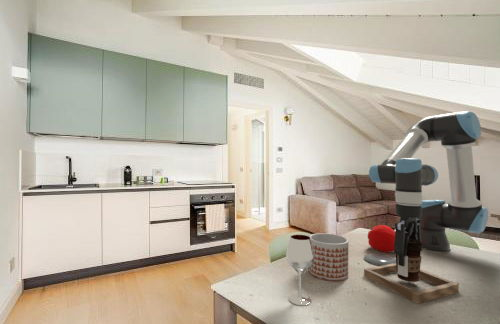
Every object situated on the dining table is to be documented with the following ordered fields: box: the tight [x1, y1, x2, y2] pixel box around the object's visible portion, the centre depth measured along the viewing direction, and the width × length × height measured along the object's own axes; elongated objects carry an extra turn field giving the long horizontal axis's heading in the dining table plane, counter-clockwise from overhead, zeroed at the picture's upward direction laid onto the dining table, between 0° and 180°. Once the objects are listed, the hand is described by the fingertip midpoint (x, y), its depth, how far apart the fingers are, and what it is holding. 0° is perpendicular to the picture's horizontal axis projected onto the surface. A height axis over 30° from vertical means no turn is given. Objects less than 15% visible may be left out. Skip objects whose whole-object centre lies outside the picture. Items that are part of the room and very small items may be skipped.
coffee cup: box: [394, 238, 423, 283], centre depth 82 cm, size 9×8×13 cm
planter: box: [308, 232, 349, 282], centre depth 90 cm, size 14×14×13 cm
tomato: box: [367, 224, 396, 253], centre depth 116 cm, size 13×13×13 cm
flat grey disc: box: [363, 253, 396, 266], centre depth 102 cm, size 13×13×1 cm
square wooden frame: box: [363, 263, 460, 304], centre depth 82 cm, size 19×19×2 cm
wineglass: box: [285, 234, 315, 307], centre depth 71 cm, size 8×8×18 cm
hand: (408, 272), depth 82 cm, fingers closed on coffee cup, 8 cm apart
